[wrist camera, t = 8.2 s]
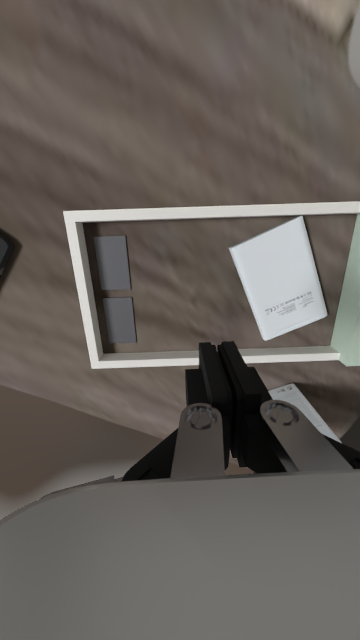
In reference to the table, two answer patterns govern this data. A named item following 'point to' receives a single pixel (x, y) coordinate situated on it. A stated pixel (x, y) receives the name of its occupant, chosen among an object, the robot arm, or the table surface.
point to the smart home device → (5, 251)
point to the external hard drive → (280, 278)
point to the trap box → (111, 252)
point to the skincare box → (302, 407)
